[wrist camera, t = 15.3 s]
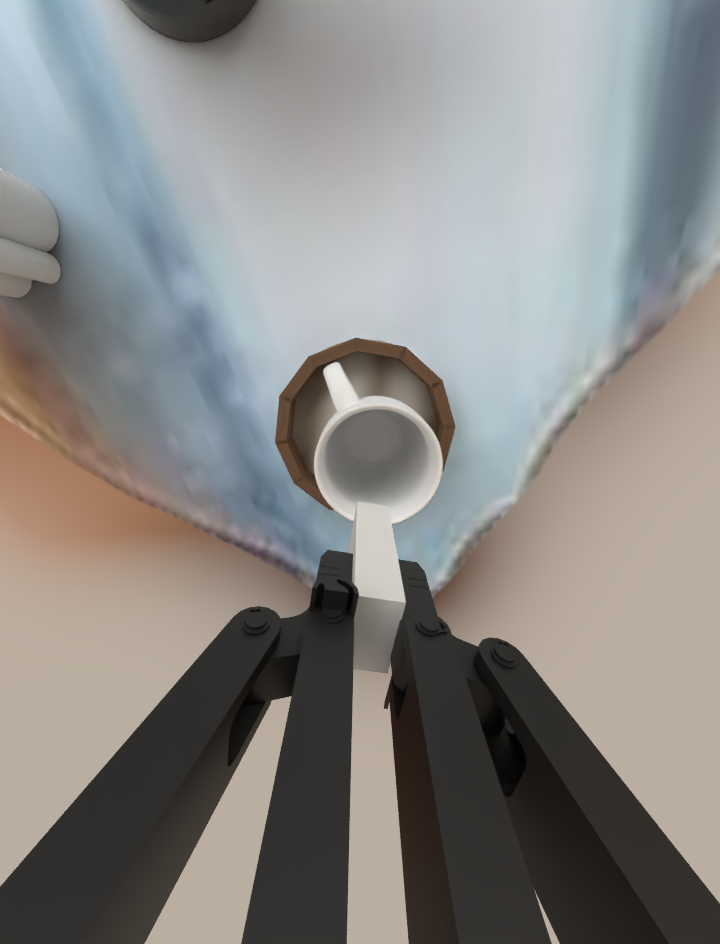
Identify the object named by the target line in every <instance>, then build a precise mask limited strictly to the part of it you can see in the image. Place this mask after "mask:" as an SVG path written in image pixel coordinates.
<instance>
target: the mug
mask: <svg viewBox="0 0 720 944" xmlns="http://www.w3.org/2000/svg"><path fill="white" fill-rule="evenodd" d="M323 374H324V377H325V380H326V383H327V386H328V389H329V392H330V395H331V398H332V401H333V403H334V406H335V408H336V410H337V412H336V413H335V414H334V415H333V417H332V418H331V419H330V420H329V422H328V423H327V425H326V426H325V428H324V430H323V432H322V434H321V436H320V439H319V442H318V445H317V448H316V451H315V457H314V473H315V478H316V482H317V485H318V488H319V490H320V492H321V494H322V496H323V497H324V499H325V500H326V501H327V503H328V504H329V505H330V506H331V507H332V508H333V509H334V510H335V511H336V512H338V513H339V514H340V515H342V516H343V517H345V518H347V519H349V520H351V521H353V522H354V516H355V511H356V505H357V501H359V502H366V503H372V504H378V505H385V506H389V512H390V517H391V523H392V524H396V523H399V522H402V521H404V520H406V519H408V518H410V517H412V516H414V515H415V514H417V513H418V512H419V511H421V510H422V509H423V508H424V507H425V506H426V505H427V504H428V503H429V501H430V500H431V499H432V497H433V496H434V494H435V492H436V490H437V488H438V486H439V484H440V480H441V476H442V471H443V458H442V451H441V447H440V444H439V441H438V439H437V437H436V435H435V433H434V432H433V430H432V429H431V428H430V426H429V425H428V424H427V423H426V422H425V421H424V419H423V418H422V417H421V416H420V415H419V414H418V413H416V412H415V411H414V410H413V409H412V408H410V407H409V406H407V405H406V404H404V403H402V402H401V401H398V400H395V399H392V398H390V397H385V396H368V397H363V398H359V396H358V394H357V393H356V391H355V389H354V387H353V385H352V384H351V382H350V381H349V379H348V377H347V376H346V374H345V372H344V370H343V368H342V366H341V364H340V363H338V362H335V363H332V364H330V365H328V366H327V367H325V369H324V371H323Z"/></svg>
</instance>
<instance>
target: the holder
mask: <svg viewBox="0 0 720 944" xmlns="http://www.w3.org/2000/svg"><path fill="white" fill-rule="evenodd" d="M335 362H338V363H340V364H341V366H342V368H343V370H344V372H345V374H346V376H347V377H348V379H349V381H350V382H351V384H352V385H353V387H354V389H355V391H356V393H357V394H358V396H359V398H363V397H368V396H385V397H390V398H392V399H395V400H398V401H401V402H402V403H404V404H406V405H407V406H409V407H410V408H412V409H413V410H414V411H415V412H416V413H418V414H419V415H420V416H421V417H422V418H423V419H424V421H425V422H426V423H427V424H428V425H429V426H430V428H431V429H432V430H433V432H434V433H435V435H436V437H437V439H438V441H439V444H440V447H441V451H442V458H443V471H444V467H445V463H446V460H447V456H448V452H449V448H450V444H451V441H452V437H453V433H454V429H455V424H454V420H453V417H452V413H451V410H450V406H449V402H448V399H447V395H446V392H445V388H444V385H443V381H442V380H441V379H440V378H439V377H438V376H437V375H436V374H435V373H434V372H433V371H431V370H430V369H429V368H428V367H427V366H426V365H425V364H424V363H423V362H422V361H421V360H419V359H418V358H417V357H416V356H415V355H414V354H413V353H412V352H411V351H410V350H409V349H407V348H406V347H404V346H398V345H393V344H390V343H386V342H382V341H376V340H365V339H360V338H354V339H351V340H349V341H346V342H343V343H340V344H337V345H334V346H331V347H329V348H327V349H325V350H323V351H321V352H319V353H316V354H314V355H311V356H309V357H308V358H307V359H306V361H305V362H304V363H303V365H302V366H301V368H300V369H299V370H298V372H297V373H296V374H295V376H294V377H293V378H292V380H291V381H290V382H289V384H288V385H287V387H286V388H285V389H284V391H283V392H282V393H281V395H280V396H279V407H278V418H277V429H276V440H275V443H276V445H277V448H278V450H279V452H280V454H281V456H282V458H283V461H284V463H285V465H286V467H287V469H288V471H289V474H290V476H291V478H292V480H293V482H294V484H296V485H297V486H298V487H300V488H301V489H302V490H304V491H305V492H306V493H308V494H309V495H310V496H312V497H313V498H314V499H316V500H317V501H318V502H320V503H321V504H323V505H324V506H325V507H327V508H328V509H330V510H334V509H333V508H332V507H331V506H330V505H329V504H328V503H327V501H326V500H325V499H324V497H323V496H322V494H321V492H320V490H319V488H318V485H317V482H316V478H315V473H314V457H315V451H316V448H317V445H318V442H319V439H320V436H321V434H322V432H323V430H324V428H325V426H326V425H327V423H328V422H329V420H330V419H331V418H332V417H333V415H334V414H335V413H336V412H337V410H336V408H335V406H334V403H333V401H332V398H331V395H330V392H329V389H328V386H327V383H326V380H325V377H324V374H323V371H324V369H325V367H327V366H328V365H330V364H332V363H335ZM443 471H442V472H443Z"/></svg>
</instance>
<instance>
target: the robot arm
mask: <svg viewBox="0 0 720 944" xmlns="http://www.w3.org/2000/svg"><path fill="white" fill-rule="evenodd" d="M123 1H124V2H125V3H126V4H127V6H128V7H129V8H130V9H131V10H132V11H133V12H134V13H135V14H136V15H137V16H138V17H139V18H140V19H141V20H142V21H144V22H145V23H146V24H147V25H149V26H150V27H152V28H153V29H155V30H156V31H158V32H160V33H162V34H164V35H166V36H169V37H171V38H174V39H178V40H183V41H192V42H196V41H206V40H210V39H213V38H216V37H218V36H221V35H223V34H224V33H226V32H228V31H229V30H231V29H232V28H233V27H235V26H236V25H237V24H238V23H239V22H240V21H241V20H242V19H243V18H244V17H245V15H246V14H247V13H248V12H249V10H250V9H251V7H252V6H253V4H254V2H255V1H256V0H123ZM390 662H391V668H392V676H391V680H390V684H389V688H388V692H387V695H386V699H385V704H384V708H385V709H388V705H389V702H390V711H391V724H392V735H393V749H394V761H395V774H396V785H397V800H398V812H399V825H400V838H401V849H402V861H403V862H402V863H403V876H404V887H405V899H406V900H405V901H406V912H407V913H406V914H407V926H408V939H409V944H551V941H550V937H549V934H548V931H547V928H546V925H545V922H544V919H543V916H542V913H541V910H540V906H539V904H538V900H537V897H536V894H537V896H538V898H539V900H540V902H541V904H542V907H543V909H544V911H545V913H546V915H547V917H548V919H549V921H550V923H551V926H552V928H553V930H554V932H555V934H556V936H557V938H558V940H559V943H560V944H720V903H719V902H718V901H717V900H716V898H715V897H714V896H713V895H712V893H711V892H710V891H709V890H708V888H707V887H706V886H705V884H704V883H703V882H702V881H701V879H700V878H699V877H698V876H697V875H696V873H695V872H694V871H693V869H692V868H691V867H690V865H689V864H688V863H687V862H686V860H685V859H684V858H683V857H682V855H681V854H680V853H679V852H678V850H677V849H676V848H675V847H674V845H673V844H672V843H671V841H670V840H669V839H668V838H667V836H666V835H665V834H664V833H663V832H662V830H661V829H660V828H659V826H658V825H657V824H656V823H655V821H654V820H653V819H652V817H651V816H650V815H649V814H648V812H647V811H646V810H645V809H644V808H643V806H642V805H641V803H639V801H638V800H637V799H636V797H635V796H634V795H633V793H632V792H631V791H630V790H629V788H628V787H627V786H626V784H625V783H624V782H623V781H622V780H621V778H620V777H619V776H618V775H617V773H616V772H615V771H614V769H613V768H612V767H611V766H610V764H609V763H608V762H607V760H606V759H605V758H604V757H603V756H602V754H601V753H600V752H599V750H598V749H597V748H596V746H595V745H594V744H593V743H592V741H591V740H590V739H589V738H588V736H587V735H586V734H585V733H584V731H583V730H582V729H581V728H580V726H579V725H578V724H577V722H576V721H575V720H574V719H573V717H572V716H571V715H570V714H569V712H568V711H567V710H566V709H565V707H564V706H563V705H562V703H561V702H560V701H559V700H558V699H557V697H556V696H555V695H554V693H553V692H552V691H551V690H550V689H549V687H548V686H547V684H546V683H545V682H544V681H543V679H542V678H541V677H540V676H539V674H538V673H537V672H536V671H535V669H534V668H533V667H532V665H531V664H530V663H529V662H528V661H527V659H526V658H525V657H524V656H523V654H522V653H521V652H520V651H519V650H518V649H517V648H516V647H514V646H512V645H511V644H509V643H508V642H506V641H503V640H501V639H498V638H487V639H483V640H482V641H481V643H480V644H479V647H478V646H475V645H473V644H470V643H467V642H465V641H462V640H460V639H458V638H456V637H455V636H453V635H452V634H451V631H450V629H449V627H448V625H447V624H446V623H445V622H444V621H443V620H442V619H441V618H440V617H438V616H437V613H436V609H435V606H434V602H433V599H432V596H431V592H430V590H429V585H428V582H427V579H426V575H425V572H424V570H423V569H422V568H421V567H420V565H419V564H418V563H417V562H411V561H404V560H398V556H397V550H396V545H395V539H394V534H393V528H392V523H391V517H390V512H389V506H385V505H378V504H372V503H366V502H359V501H357V505H356V511H355V516H354V522H353V527H352V533H351V538H350V544H349V549H348V553H345V552H338V551H331V550H327V551H326V552H325V553H324V554H323V555H322V556H321V560H320V565H319V569H318V574H317V579H316V582H315V584H314V586H313V588H312V595H311V602H310V607H309V608H308V609H307V610H306V611H305V612H303V613H302V614H300V615H297V616H294V617H289V618H282V619H280V617H279V616H278V614H277V613H276V612H275V611H273V610H271V609H269V608H266V607H260V606H258V607H250V608H247V609H244V610H242V611H240V612H239V613H238V614H237V615H235V616H234V617H233V618H232V619H231V620H230V622H229V623H228V624H227V625H226V626H225V627H224V629H223V630H222V631H221V632H220V633H219V634H218V636H217V637H216V638H215V639H214V640H213V641H212V642H211V644H210V645H209V646H208V647H207V648H206V649H205V650H204V652H203V653H202V654H201V655H200V656H199V658H198V659H197V660H196V661H195V662H194V663H193V665H192V666H191V667H190V668H189V669H188V670H187V671H186V673H185V674H184V675H183V676H182V677H181V678H180V679H179V681H178V682H177V683H176V684H175V685H174V686H173V688H172V689H171V690H170V691H169V692H168V694H166V696H165V697H164V698H163V699H162V700H161V701H160V703H159V704H158V705H157V706H156V707H155V708H154V710H153V711H152V712H151V713H150V714H149V715H148V716H147V718H146V719H145V720H144V721H143V722H142V723H141V724H140V726H139V727H138V728H137V729H136V730H135V731H134V733H133V734H132V735H131V736H130V737H129V739H128V740H127V741H126V742H125V743H124V744H123V745H122V746H121V748H120V749H119V750H118V751H117V752H116V753H115V755H114V756H113V757H112V758H111V759H110V760H109V761H108V763H107V764H106V765H105V766H104V767H103V768H102V770H101V771H100V772H99V773H98V774H97V775H96V777H95V778H94V779H93V780H92V781H91V782H90V783H89V785H88V786H87V787H86V788H85V789H84V790H83V792H82V793H81V794H80V795H79V796H78V797H77V799H76V800H75V801H74V802H73V803H72V804H71V805H70V807H69V808H68V809H67V810H66V811H65V812H64V814H63V815H62V816H61V817H60V818H59V819H58V820H57V822H56V823H55V824H54V825H53V826H52V828H51V829H50V830H49V831H48V832H47V833H46V834H45V836H44V837H43V838H42V839H41V840H40V841H39V842H38V844H37V845H36V846H35V847H34V848H33V849H32V851H31V852H30V853H29V854H28V855H27V856H26V857H25V859H24V860H23V861H22V862H21V863H20V864H19V866H18V867H17V868H16V869H15V870H14V871H13V873H12V874H11V875H10V876H9V877H8V878H7V880H6V881H5V882H4V883H3V884H2V885H1V886H0V944H144V943H145V941H146V940H147V938H148V935H149V934H150V932H151V930H152V928H153V926H154V924H155V922H156V921H157V918H158V917H159V915H160V913H161V911H162V909H163V907H164V905H165V903H166V901H167V899H168V898H169V896H170V893H171V892H172V890H173V888H174V886H175V884H176V882H177V881H178V879H179V877H180V875H181V873H182V871H183V869H184V867H185V865H186V863H187V862H188V859H189V858H190V856H191V854H192V852H193V850H194V848H195V846H196V844H197V843H198V841H199V839H200V837H201V835H202V833H203V831H204V829H205V827H206V825H207V824H208V822H209V820H210V818H211V815H212V814H213V812H214V810H215V808H216V806H217V805H218V802H219V801H220V799H221V797H222V795H223V793H224V791H225V789H226V787H227V786H228V784H229V782H230V780H231V778H232V776H233V774H234V772H235V770H236V768H237V767H238V765H239V763H240V761H241V759H242V757H243V755H244V753H245V751H246V749H247V747H248V746H249V744H250V741H251V740H252V738H253V736H254V734H255V732H256V730H257V728H258V727H259V725H260V723H261V721H262V719H263V717H264V715H265V713H266V711H267V709H268V708H269V706H270V704H271V701H272V700H275V699H280V698H284V697H289V696H292V698H291V702H290V708H289V712H288V718H287V722H286V727H285V732H284V737H283V742H282V747H281V752H280V756H279V761H278V766H277V771H276V776H275V781H274V786H273V791H272V796H271V801H270V806H269V810H268V815H267V820H266V825H265V830H264V835H263V840H262V845H261V850H260V855H259V860H258V864H257V870H256V874H255V880H254V884H253V889H252V894H251V899H250V904H249V909H248V914H247V919H246V923H245V928H244V933H243V939H242V943H241V944H347V904H348V903H347V902H348V863H349V862H348V860H349V821H350V818H349V817H350V780H351V779H350V778H351V737H352V735H351V734H352V695H353V669H359V670H367V671H374V672H382V673H388V669H389V666H390ZM533 887H534V888H533ZM534 890H535V891H536V894H535V891H534Z"/></svg>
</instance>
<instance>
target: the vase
mask: <svg viewBox="0 0 720 944" xmlns="http://www.w3.org/2000/svg"><path fill="white" fill-rule="evenodd" d="M58 235H59V222H58V218H57V215H56V212H55V209H54V208H53V206H52V205H51V203H50V201H49V200H48V198H47V197H46V196H45V195H44V194H43V193H42V192H41V191H40V190H39V189H38V188H36V187H34V186H33V185H31V184H29V183H28V182H26V181H24V180H22V179H20V178H18V177H16V176H14V175H12V174H11V173H9V172H7V171H5V170H3V169H1V168H0V295H3V296H8V297H14V298H19V297H23V296H24V295H26V294H27V293H28V292H29V290H30V289H31V286H32V281H33V280H36V281H40V282H44V283H49V284H53V283H55V282H57V281H58V279H59V278H60V274H61V273H60V266H59V263H58V261H57V260H56V259H55V257H54V256H52V255H51V254H49V253H46V252H48V251H50V250H51V249H52V248H53V247H54V245H55V244H56V243H57V239H58Z"/></svg>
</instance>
